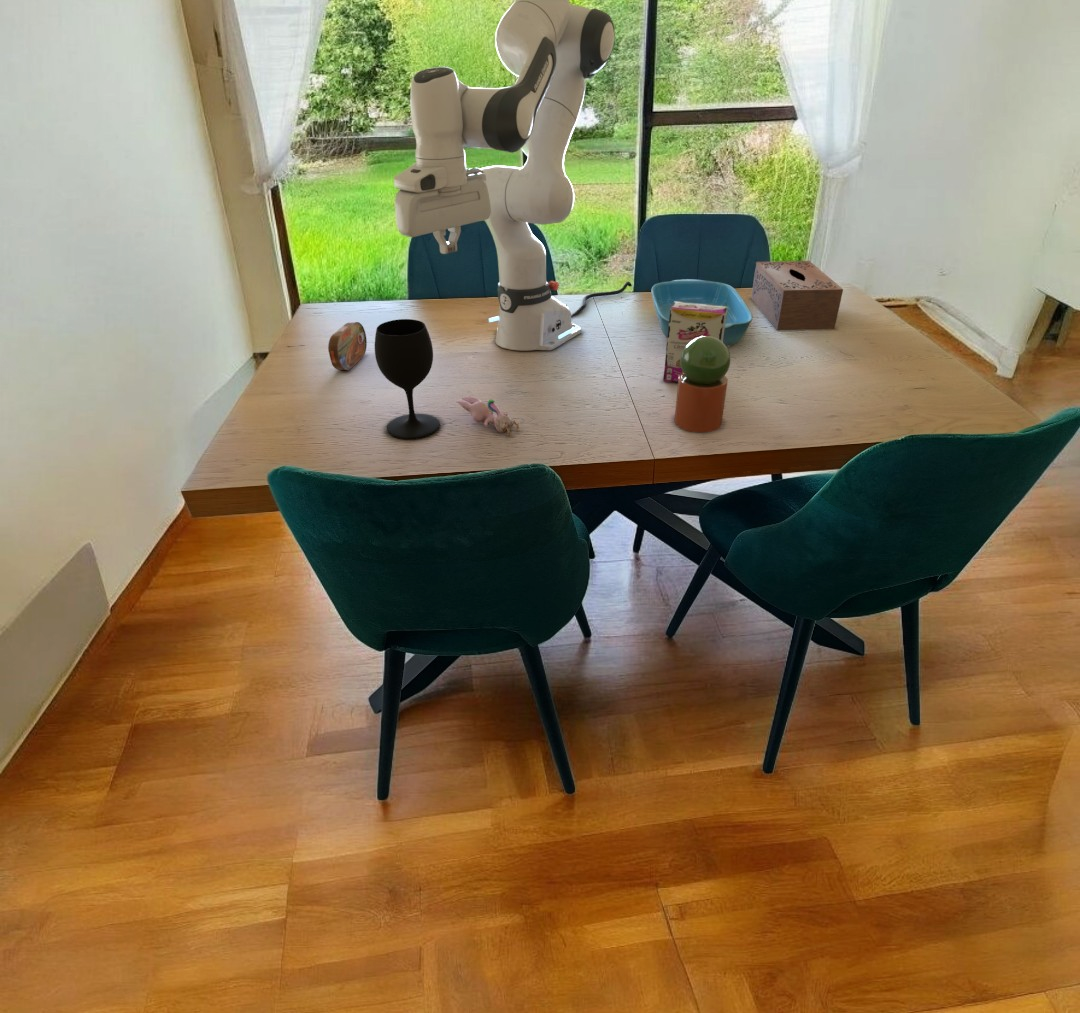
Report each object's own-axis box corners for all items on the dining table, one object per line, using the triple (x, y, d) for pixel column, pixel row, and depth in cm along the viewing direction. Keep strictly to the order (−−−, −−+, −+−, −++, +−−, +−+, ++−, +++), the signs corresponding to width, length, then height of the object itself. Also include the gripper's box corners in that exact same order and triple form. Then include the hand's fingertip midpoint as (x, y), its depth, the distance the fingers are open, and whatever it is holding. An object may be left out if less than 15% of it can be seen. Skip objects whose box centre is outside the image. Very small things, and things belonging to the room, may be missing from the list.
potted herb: (691, 407, 145) (700, 325, 135) (730, 421, 139) (743, 336, 130) (665, 422, 139) (672, 338, 130) (704, 437, 134) (715, 350, 125)
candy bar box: (662, 382, 155) (668, 307, 146) (666, 373, 159) (673, 300, 150) (715, 389, 152) (725, 312, 143) (718, 379, 156) (728, 305, 147)
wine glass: (388, 416, 143) (374, 318, 132) (441, 413, 144) (431, 316, 133) (384, 441, 135) (368, 338, 124) (439, 438, 135) (429, 336, 124)
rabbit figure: (524, 434, 139) (469, 401, 146) (527, 407, 135) (471, 375, 142) (501, 446, 135) (447, 412, 142) (504, 419, 131) (447, 385, 138)
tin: (343, 376, 160) (336, 339, 156) (330, 375, 161) (323, 339, 156) (369, 351, 173) (364, 317, 168) (357, 350, 173) (351, 316, 169)
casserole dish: (758, 354, 167) (762, 324, 163) (661, 355, 168) (664, 325, 164) (726, 304, 198) (729, 277, 194) (644, 305, 198) (646, 278, 195)
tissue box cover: (751, 298, 202) (756, 261, 196) (802, 297, 202) (809, 260, 196) (777, 330, 180) (783, 290, 175) (834, 329, 180) (843, 289, 175)
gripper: (473, 164, 137) (478, 239, 145) (385, 179, 125) (396, 260, 133) (495, 167, 134) (499, 244, 142) (407, 183, 122) (417, 266, 129)
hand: (448, 252), depth 137 cm, fingers closed
